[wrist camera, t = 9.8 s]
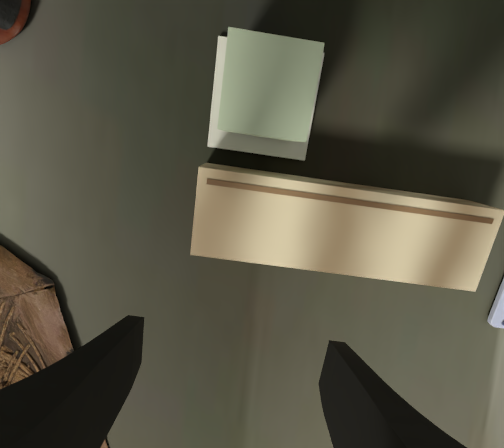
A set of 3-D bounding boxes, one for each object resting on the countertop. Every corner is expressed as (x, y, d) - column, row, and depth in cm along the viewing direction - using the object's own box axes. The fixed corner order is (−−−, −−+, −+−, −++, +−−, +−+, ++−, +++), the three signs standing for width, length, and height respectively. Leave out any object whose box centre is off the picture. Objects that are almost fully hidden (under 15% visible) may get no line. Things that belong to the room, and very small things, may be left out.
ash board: (468, 200, 20) (506, 210, 17) (444, 270, 21) (476, 292, 18) (206, 162, 19) (198, 166, 16) (198, 238, 20) (190, 255, 18)
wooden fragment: (-172, 199, 20) (-194, 202, 19) (-27, 136, 19) (-42, 136, 18) (39, 474, 26) (31, 487, 25) (155, 437, 25) (151, 450, 24)
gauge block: (304, 69, 17) (324, 42, 13) (291, 141, 19) (306, 142, 14) (234, 58, 17) (228, 26, 12) (225, 131, 18) (217, 128, 14)
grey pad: (323, 54, 18) (324, 52, 17) (303, 160, 19) (304, 160, 19) (219, 37, 17) (218, 35, 17) (208, 146, 19) (207, 146, 19)
